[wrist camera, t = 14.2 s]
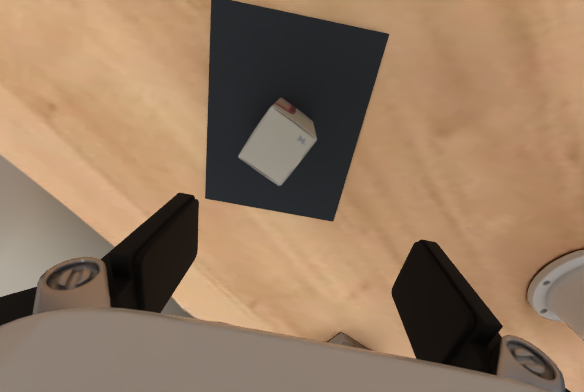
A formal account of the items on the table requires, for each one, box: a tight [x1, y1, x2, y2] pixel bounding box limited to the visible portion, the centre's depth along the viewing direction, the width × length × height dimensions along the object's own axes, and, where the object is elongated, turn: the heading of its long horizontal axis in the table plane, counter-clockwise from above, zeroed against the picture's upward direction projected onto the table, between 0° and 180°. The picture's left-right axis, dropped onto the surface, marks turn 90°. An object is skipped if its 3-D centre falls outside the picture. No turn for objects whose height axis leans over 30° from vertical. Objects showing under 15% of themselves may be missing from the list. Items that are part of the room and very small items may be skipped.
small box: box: [238, 98, 317, 185], centre depth 22 cm, size 5×4×8 cm
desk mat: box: [205, 0, 389, 221], centre depth 26 cm, size 16×20×1 cm
